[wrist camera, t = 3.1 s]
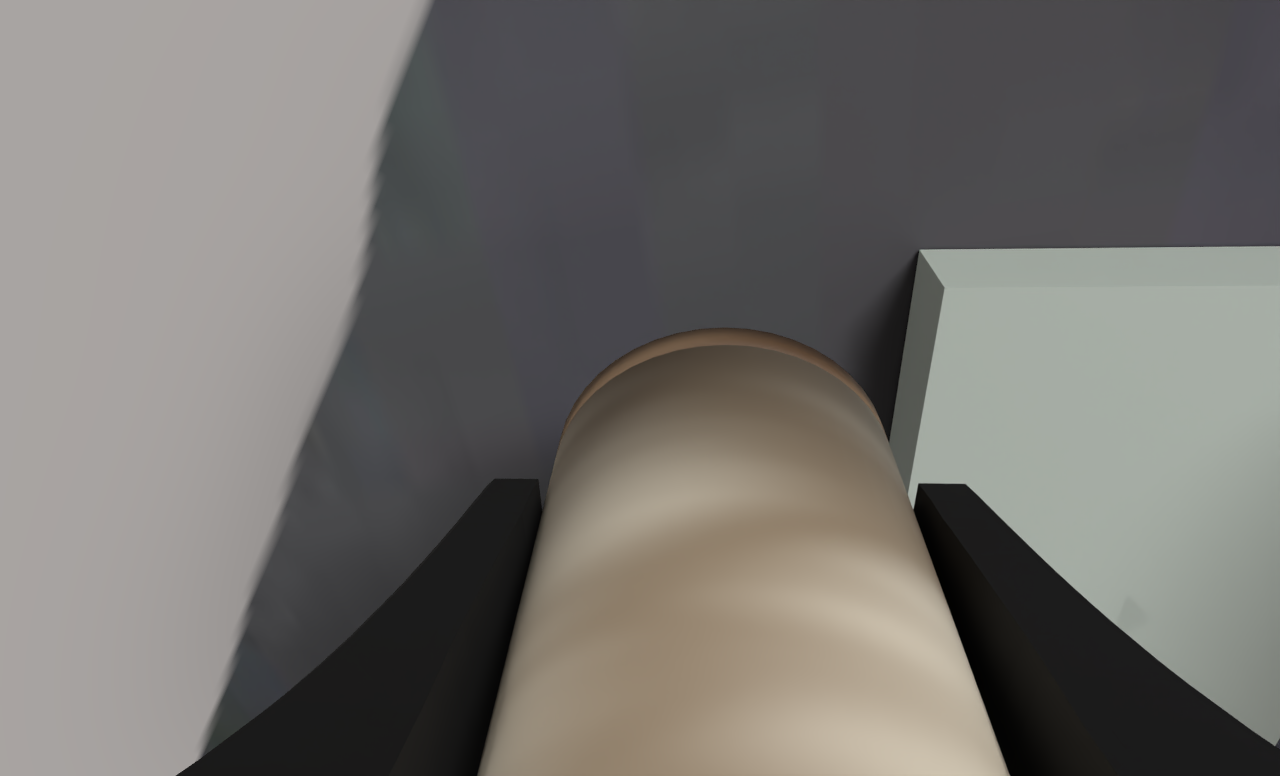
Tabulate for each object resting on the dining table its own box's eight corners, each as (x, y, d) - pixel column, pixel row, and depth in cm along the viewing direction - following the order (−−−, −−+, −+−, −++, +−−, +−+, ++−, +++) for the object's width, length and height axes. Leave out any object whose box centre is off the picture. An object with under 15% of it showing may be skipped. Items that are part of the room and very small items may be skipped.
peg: (882, 274, 12) (1177, 849, 5) (849, 523, 15) (1008, 1151, 7) (561, 276, 13) (372, 817, 5) (582, 520, 15) (476, 1119, 8)
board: (1463, 244, 17) (1552, 284, 15) (1185, 775, 26) (1220, 837, 24) (919, 249, 17) (945, 287, 15) (838, 765, 26) (848, 824, 25)
